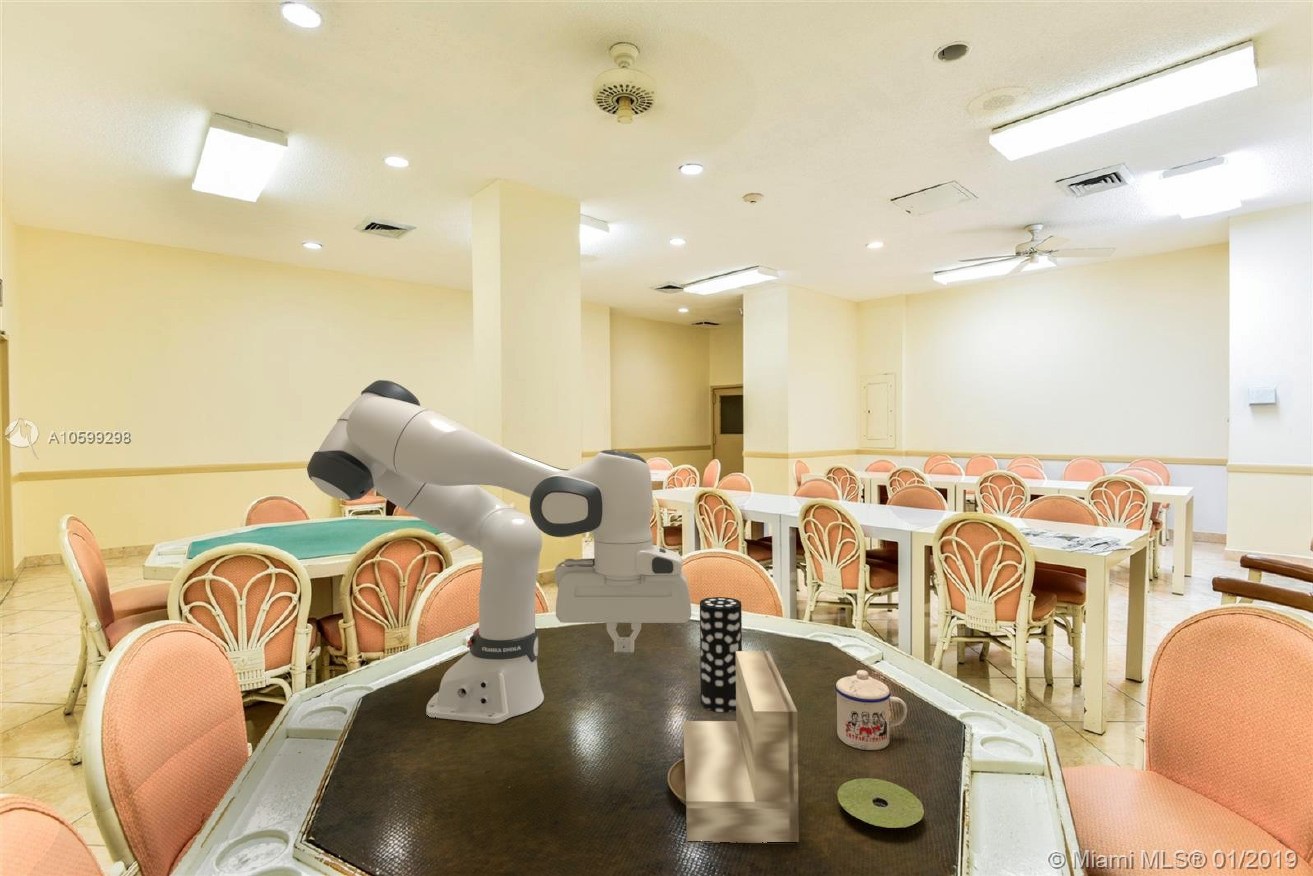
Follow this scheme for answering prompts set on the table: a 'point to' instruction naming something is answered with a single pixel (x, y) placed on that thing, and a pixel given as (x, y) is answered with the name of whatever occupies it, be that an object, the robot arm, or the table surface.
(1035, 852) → the table surface
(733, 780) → the wooden step block
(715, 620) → the white-spotted black cylinder
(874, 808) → the green disc with hole
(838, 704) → the teacup with lid
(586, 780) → the table surface
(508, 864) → the table surface
